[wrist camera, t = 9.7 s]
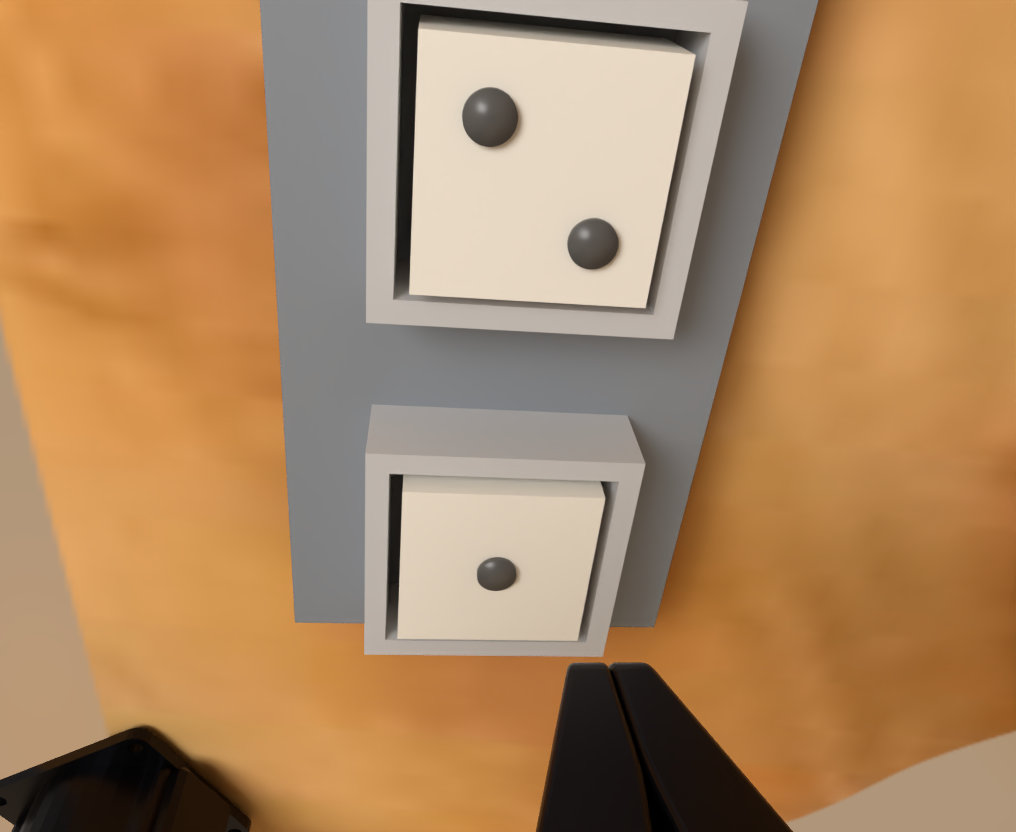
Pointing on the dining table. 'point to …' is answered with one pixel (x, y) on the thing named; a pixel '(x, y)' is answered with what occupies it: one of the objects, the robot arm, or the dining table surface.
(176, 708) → the dining table surface
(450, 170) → the button two
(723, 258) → the button panel
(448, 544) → the button one
